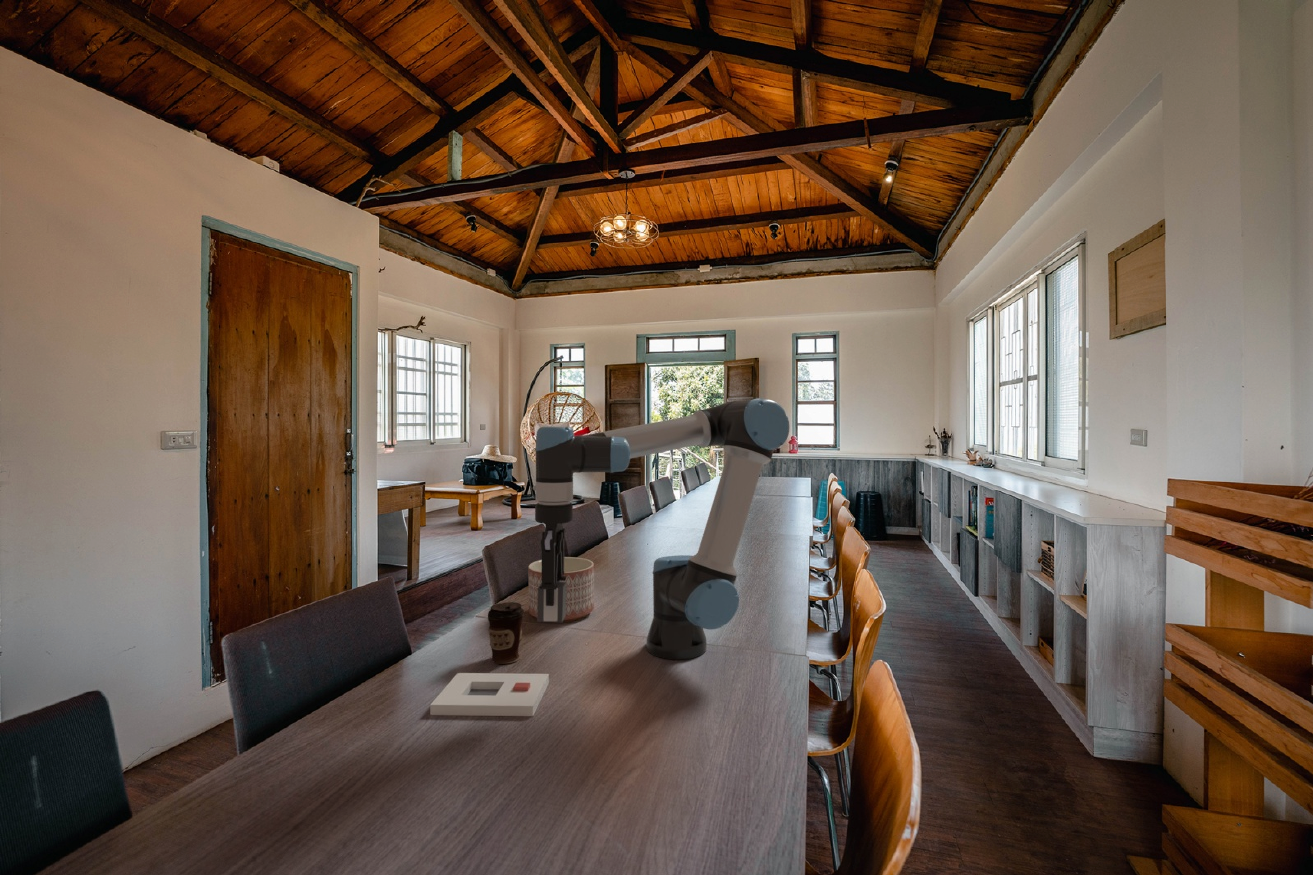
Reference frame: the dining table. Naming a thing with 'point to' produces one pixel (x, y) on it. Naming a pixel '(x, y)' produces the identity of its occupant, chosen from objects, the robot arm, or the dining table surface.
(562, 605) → the plug
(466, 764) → the dining table surface
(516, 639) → the coffee cup
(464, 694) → the faceplate
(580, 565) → the planter
